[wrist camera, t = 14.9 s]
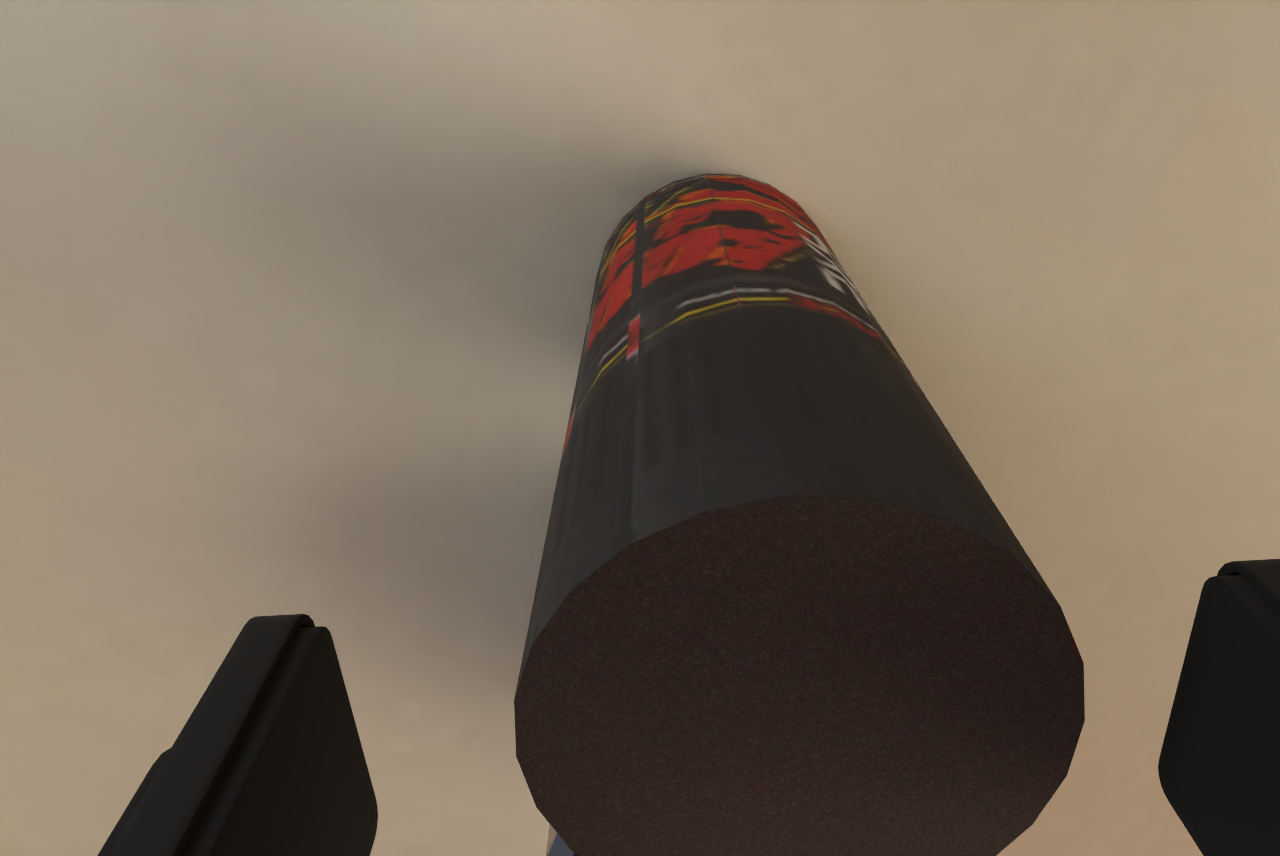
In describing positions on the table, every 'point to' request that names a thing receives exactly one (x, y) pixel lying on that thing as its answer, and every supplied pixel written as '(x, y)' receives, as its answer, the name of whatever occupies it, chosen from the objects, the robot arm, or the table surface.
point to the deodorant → (776, 572)
